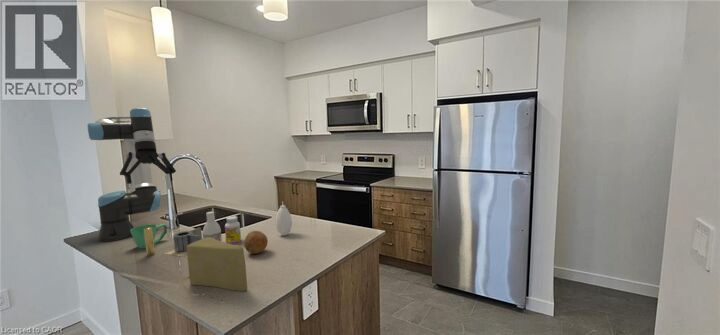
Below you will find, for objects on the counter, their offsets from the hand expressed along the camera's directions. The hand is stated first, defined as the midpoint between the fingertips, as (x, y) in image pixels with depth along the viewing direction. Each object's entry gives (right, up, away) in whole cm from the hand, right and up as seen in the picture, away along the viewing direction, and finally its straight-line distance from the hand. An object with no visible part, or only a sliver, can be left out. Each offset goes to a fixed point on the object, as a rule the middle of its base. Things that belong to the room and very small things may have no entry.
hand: (152, 190), depth 129 cm
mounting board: (+11, -28, +9) cm, 32 cm away
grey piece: (+13, -27, +10) cm, 31 cm away
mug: (-11, -28, +16) cm, 34 cm away
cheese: (+40, -32, -22) cm, 56 cm away
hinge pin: (-2, -29, +3) cm, 30 cm away
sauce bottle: (+50, -25, +27) cm, 62 cm away
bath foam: (+26, -29, 0) cm, 39 cm away
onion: (+43, -28, +5) cm, 51 cm away
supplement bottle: (+28, -27, +17) cm, 42 cm away
